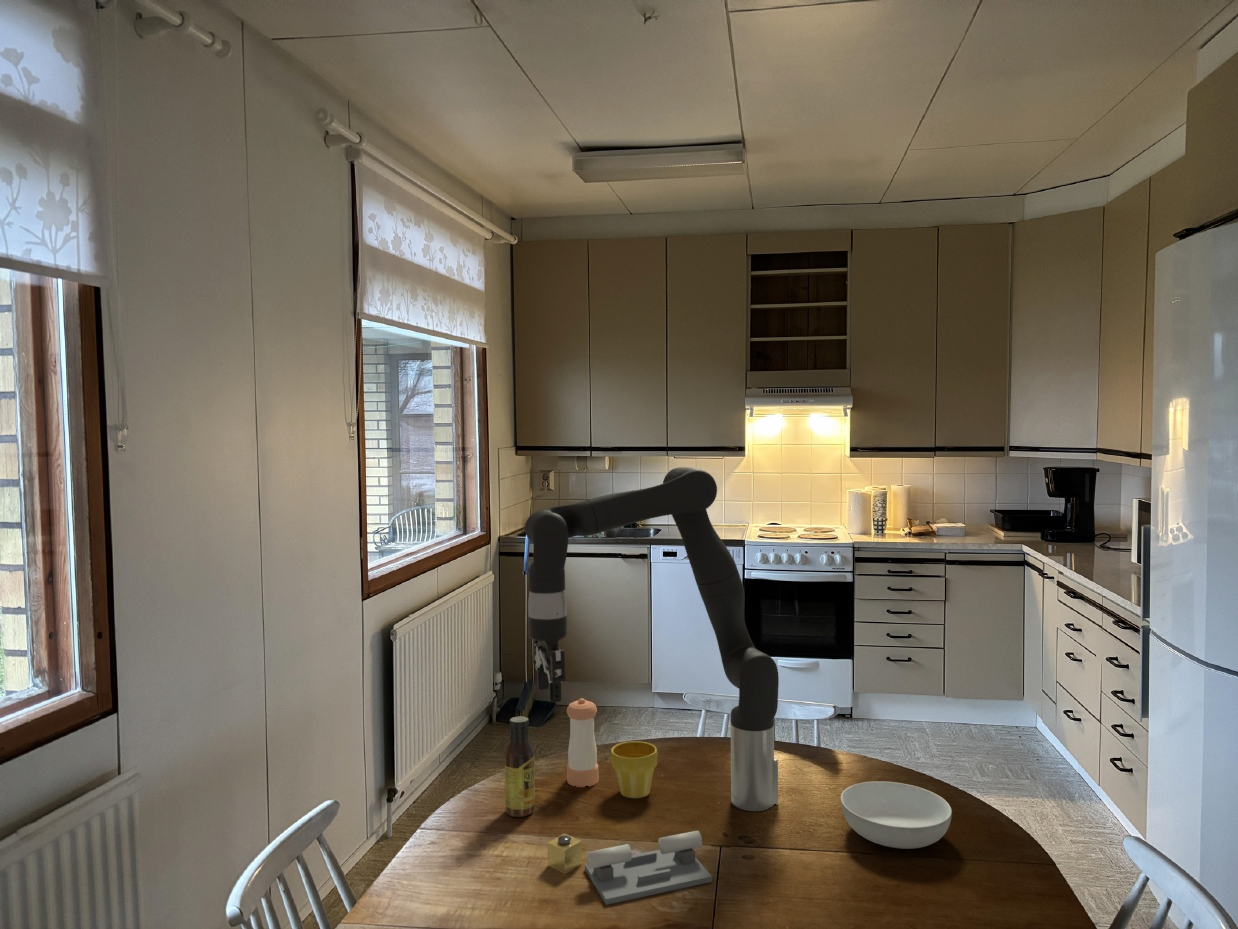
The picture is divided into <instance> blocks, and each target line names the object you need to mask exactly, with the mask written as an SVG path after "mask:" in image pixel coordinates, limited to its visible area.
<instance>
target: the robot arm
mask: <svg viewBox="0 0 1238 929" xmlns="http://www.w3.org/2000/svg"><path fill="white" fill-rule="evenodd" d="M717 494H718V486H717V482H716V480H715V478H714V477H713V476H712V475H711V474H710V473H709V472H707V471H706V470H704V469H701V468H696V467H685V466H680V467H674V468H672V469H671V470H669V471H668V472H667V473H666V474H665V476H664V479H663V480H662V483H661V484H658V485H657V484H656V485H654V486H651V487H650V486H649V487H645V488H640V489H634V490H627V491H620V492H614V493H609V494H605V495H600V496H597V497H593V498H588V499H586V500H582V501H579V502H576V503H573V504H565V505H559V506H554V507H553V506H552V507H548V508H544V509H539V510H537V511H535V512H533V513H532V514H531V515H529V516H528V517H527V519H526V521H525V523H524V524H525V525H524V532H525V535H526V537H527V538H528V540H529V541H530V542H531V543H532V544H533V545H532V546H533V552H532V554H533V555H532V556H533V557H532V562H531V563H530V565H529V568H528V588H529V589H528V590H529V591H528V592H529V594H528V603H527V607H528V608H527V610H528V611H527V613H528V617H527V620H528V621H527V622H528V638H530V639H531V640H532V642H533V643H532V648H533V649H532V650H533V651H532V652H533V654H532V658H533V659H532V662H533V665H535V670H536V674H537V676H536V678H537V681H536V682H537V689H538V690H540V691H542V690H547V689H548V700H549V702H550V703H559V702H561V701H562V683H563V682H566V669H565V668H566V666H565V665H566V664H565V661H566V660H565V659H566V658H565V650H564V649H561V647H559V641H561V640H563V639H565V638H566V637H567V635H568V604H567V603H568V602H567V594H566V570H565V567H566V561H567V554H568V549H569V548H568V547H569V538H573V537H589V536H594V535H597V534H601V533H604V532H608V531H611V530H614V529H618V528H621V527H624V526H628V525H631V524H635V523H638V522H639V523H640V522H642V521H646V520H649V519H650V520H651V519H656V518H659V517H666V516H670V515H671V517H672V519H673V521H674V523H675V525H676V527H677V530H678V532H679V535H680V537H681V540H682V542H683V545H684V546H683V547H684V550H685V552H686V553H685V554H686V556H687V558H688V561H689V564H690V567H691V570H692V573H693V577H694V580H695V582H696V586H697V588H698V591H699V595H700V597H701V599H702V602H703V604H704V608H705V610H706V613H707V616H708V620H709V622H710V624H711V625H712V628H713V632H714V635H715V637H716V641H717V645H718V650H719V653H720V654H719V655H720V660H721V664H722V667H723V672H724V674H725V676H726V678H727V680H728V681H729V683H730V684H731V685H732V686H734V687H735V688H737V689H738V690H739V691H738V692H739V693H738V705H736V706H734V707H733V708H731V711H730V794H731V795H730V800H731V803H732V805H733V806H734V807H736V808H738V809H741V810H743V811H747V812H760V811H761V812H762V811H768V810H769V809H768V808H770V807H771V808H773V807H774V806H775V805H774V804H776V805H778V804H779V760H777V758H775V717H776V714H777V713H778V712H777V711H778V706H779V682H780V681H779V669H778V666H777V663H776V661H775V660H774V659H773V658H772V657H771V656H770V655H768V654H766V653H765V652H762V651H760V650H759V649H757V648H756V646H755V644H754V642H753V640H752V639H751V637H750V633H749V630H748V628H747V625H746V621H745V589H744V588H745V587H744V584H743V581H742V579H741V575H740V573H739V570H738V569H739V568H738V567H737V564H736V561H735V560H734V557H733V556H732V554H731V553H730V551H729V549H728V547H727V546H726V545H725V543H724V542H723V540H722V539H721V537H720V536H719V535H718V533H717V532H716V529H715V528H714V527H713V525H712V522H711V520H710V517H709V514H708V511H707V509H709V508H710V507H711V506H712V505H713V503H715V500H716V498H717ZM556 673H557V675H556ZM777 803H778V804H777ZM773 805H774V806H773ZM771 808H770V809H771Z"/></svg>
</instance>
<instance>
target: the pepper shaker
mask: <svg viewBox="0 0 1238 929" xmlns="http://www.w3.org/2000/svg"><path fill="white" fill-rule="evenodd" d="M597 713H598V708H597V705H596V704H595V703H594V702H592V701H589V700H586V698H583V697H582V698H579V699H578V700H575V701H572V702H570V703H569V705H568V706H567V709H566V714H567V716H568V717H569V720H570V723H569V724H570V726H569V728H570V729H569V732H570V734H569V735H570V736H569V741H568V742H569V743H568V750H567V754H568V755H567V756H568V757H567V758H568V764H567V766H566V779H567V780H566V781H567V783H568V785H570V786H572V787H575V786H576V787H575V788H586V787H585V786H589V787H592V786H594V785H596V784H598V782H599V781H600V778H599V774H600V773H599V764H598V762H597V761H598V758H597V757H598V750H597V745H596V744H597V743H596V738H595V719H594V718H595V717H596V715H597Z"/></svg>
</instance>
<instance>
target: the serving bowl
mask: <svg viewBox="0 0 1238 929" xmlns="http://www.w3.org/2000/svg"><path fill="white" fill-rule="evenodd" d="M840 805H841V809H842V810H841V811H842V814H843V816H844V819H845V820H846V822H847V823H848V825H849V826H850V827H851V829H853V831H854V832H855V833H857V834H858V835H859V836H861V837H863V838H864V839H866V840H868V841H870V842H873V843H874V844H878V845H880V846H884V847H889V848H893V849H894V848H895V849H903V850H904V849H908V850H909V849H911V850H912V849H918V848H919V849H920V848H924V847H927V846H931V845H932V844H934V843H937V842H938V841H939V840H941V839H942V838H943V836H944V835H946V833H947V831H948V830H949V828H950V826H951V825H950V824H951V821H952V816H953V811H952V807H951V806H950V804H949V802H947V800H946V799H944V797H942V796H940V795H938V794H936V793H935V792H932V791H931V790H928V789H925V788H922V787H920V786H916V785H912V784H908V783H901V782H896V781H895V782H894V781H884V780H882V781H880V780H879V781H878V780H877V781H876V780H875V781H865V782H860V783H855V784H852V785H850V786H848V787H846V788H845V789H843V791H842V792H841V794H840Z"/></svg>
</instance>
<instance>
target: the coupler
mask: <svg viewBox="0 0 1238 929" xmlns="http://www.w3.org/2000/svg"><path fill="white" fill-rule="evenodd" d="M582 843H583V842H582V840H580V839H578V838H576V837H573V836H572V835H569V834H566V833H562V834H561V835H559V836H557V837H555V838H553V839H551V840H550V841H548V842H547V867H549V868H551V869H554V870H555V871H557V872H559V873H561V874H564V875H567V874H568V873H570V872H572V871H573V870H574V869H576V868H578V867H579V866H581V865H582V864H583V851H582V849H583V845H582Z"/></svg>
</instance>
